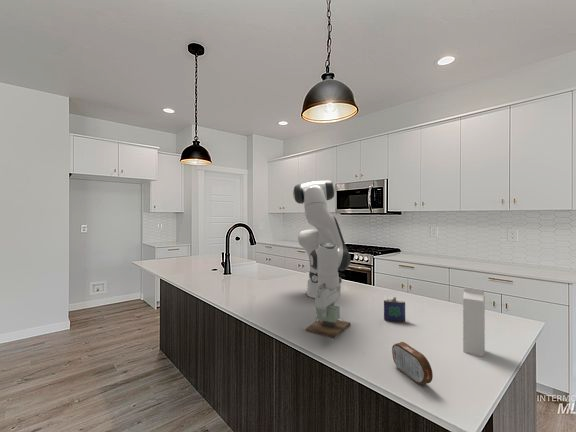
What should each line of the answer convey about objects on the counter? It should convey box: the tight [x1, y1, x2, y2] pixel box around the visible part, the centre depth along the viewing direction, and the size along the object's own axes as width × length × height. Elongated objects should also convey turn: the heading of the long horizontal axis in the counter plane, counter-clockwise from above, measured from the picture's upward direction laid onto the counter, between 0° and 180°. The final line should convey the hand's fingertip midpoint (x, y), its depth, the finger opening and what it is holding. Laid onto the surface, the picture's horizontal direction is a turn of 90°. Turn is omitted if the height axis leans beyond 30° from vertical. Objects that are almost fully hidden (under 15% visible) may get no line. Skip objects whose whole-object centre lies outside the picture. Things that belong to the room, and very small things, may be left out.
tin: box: [391, 341, 434, 386], centre depth 88 cm, size 15×3×8 cm, turn 17°
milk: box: [462, 287, 486, 357], centre depth 104 cm, size 6×6×22 cm
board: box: [305, 319, 351, 339], centre depth 126 cm, size 16×13×1 cm
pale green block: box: [316, 305, 341, 323], centre depth 126 cm, size 6×8×5 cm
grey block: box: [323, 321, 335, 327], centre depth 126 cm, size 2×4×5 cm, turn 56°
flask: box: [383, 296, 407, 323], centre depth 134 cm, size 9×3×11 cm, turn 74°
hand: (328, 314), depth 126 cm, fingers closed on pale green block, 6 cm apart
